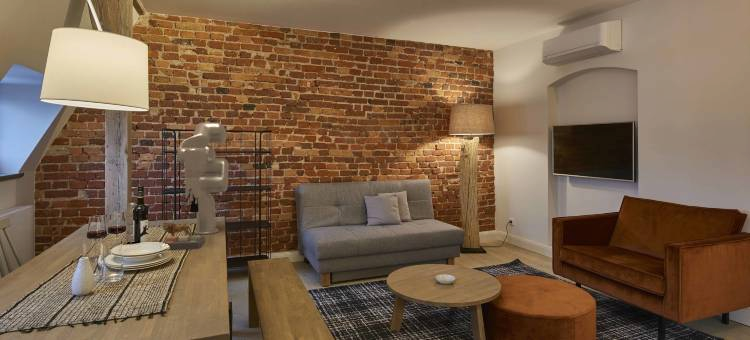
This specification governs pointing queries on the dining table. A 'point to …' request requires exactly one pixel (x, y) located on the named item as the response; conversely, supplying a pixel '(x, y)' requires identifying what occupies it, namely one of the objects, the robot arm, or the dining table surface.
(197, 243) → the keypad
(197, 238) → the sage key
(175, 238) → the terracotta key
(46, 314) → the dining table surface
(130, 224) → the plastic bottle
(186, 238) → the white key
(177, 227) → the lion figurine
